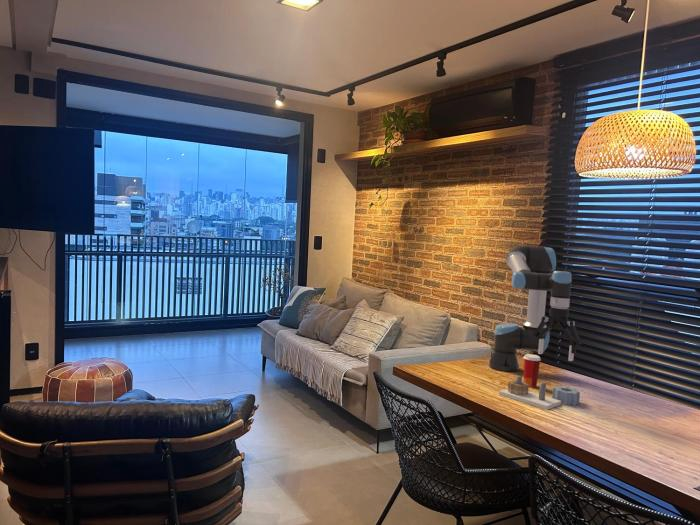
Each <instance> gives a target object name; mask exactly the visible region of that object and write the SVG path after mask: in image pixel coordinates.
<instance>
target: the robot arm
mask: <svg viewBox="0 0 700 525" xmlns="http://www.w3.org/2000/svg"><path fill="white" fill-rule="evenodd" d="M505 262H506V265H507V267H508V268H509V269H510V270H511V271H512V274H511V287H512V288H513V289H518V290H528V299H527V311H526V318H525V319H526V321H524V322H523V323H522V327H521V326H520V325H519V324H518V323H511V322H507V323H500V324H497V325H496V326H495V330H494V339H493V340H494V341H493V352H492V355H491V356H490V359H489V362H488V367H490V368H491V369H493V370H497V371H500V372H519V370H520V364H519V361H518V356H517V351H518V350H519V351H520V350H522V351H532V352H537V354H538V355H542V354H544V352H545V351H546V349H548V346H549V342H550V336H551V335H550V331H551V330H552V329H553V330H558V331H562V332H563V333H564V335H565V337H566V339H567V340H568V341H569V343H570V345H569V346H568V347H569V350H568V360H567V361H568V362H573V361H574V358H575V357H574V355H575V354H576V353H577V346H579V345H582V341H581V337H580V335H579V331H578V330H577V326H576V321H575V320H569V314H570V309H569V307H570V300H571V289H572V281H573V279H572V273H571V271H564V270H562V271H561V270H556V267H557V256H556V252H555V249H554V248H552V247H546V246H533V245H532V246H529V245H519V246H516V247H514V248H512V249H510V250H509V251H508V252H507V254H506V257H505ZM547 292H550V299H549V300H550V301H549V306H550V307H549V311H548V312H549V313H548V314H549V315H548V316H549V317H548V316H546V314H545V312H546V302H547ZM547 322H548V323H549V324H548V325H546V324H547ZM570 330H571V331H570Z"/></svg>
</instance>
